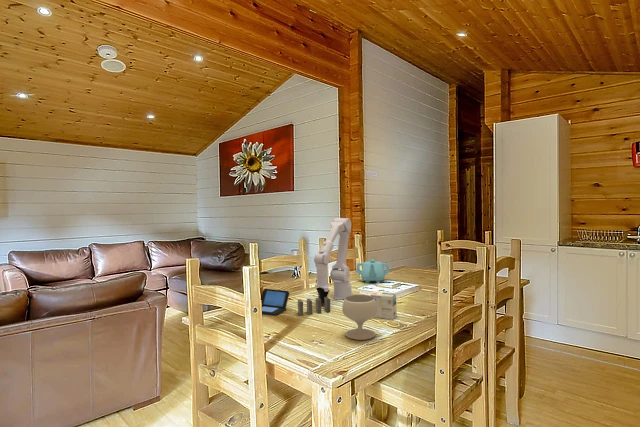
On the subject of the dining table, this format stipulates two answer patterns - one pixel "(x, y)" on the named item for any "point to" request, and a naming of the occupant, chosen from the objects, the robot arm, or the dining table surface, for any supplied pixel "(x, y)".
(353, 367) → the dining table surface
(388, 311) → the light bulb box
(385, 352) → the dining table surface
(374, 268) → the teapot
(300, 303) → the domino
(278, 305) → the handheld game console
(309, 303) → the domino
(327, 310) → the domino
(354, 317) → the chalice
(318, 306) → the domino
